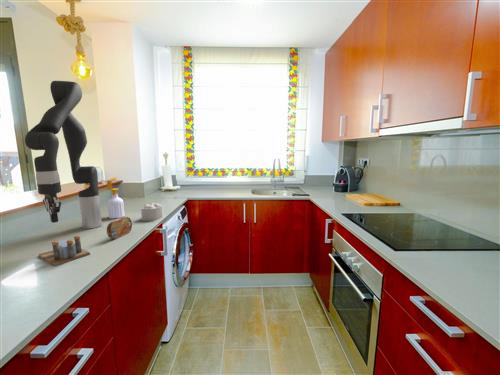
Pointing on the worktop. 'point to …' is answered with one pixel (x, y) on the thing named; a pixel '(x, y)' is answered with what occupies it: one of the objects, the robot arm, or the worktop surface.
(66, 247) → the rectangular block
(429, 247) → the worktop surface
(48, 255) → the board
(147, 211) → the lumpy-topped squat cylinder
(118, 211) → the soap bottle
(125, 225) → the tin
